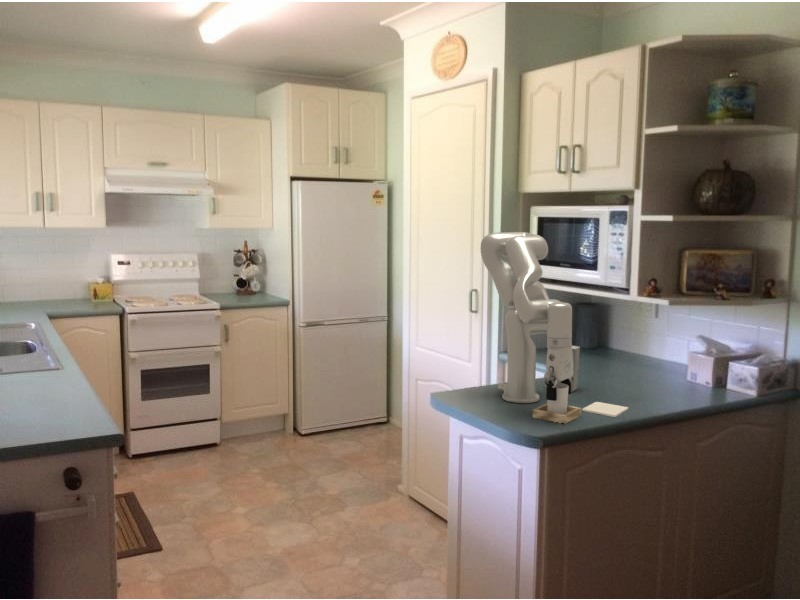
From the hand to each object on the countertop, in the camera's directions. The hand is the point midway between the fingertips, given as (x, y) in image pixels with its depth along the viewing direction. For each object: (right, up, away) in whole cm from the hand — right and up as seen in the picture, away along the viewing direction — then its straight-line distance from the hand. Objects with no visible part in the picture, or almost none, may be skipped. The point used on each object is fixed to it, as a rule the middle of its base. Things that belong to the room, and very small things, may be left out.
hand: (558, 396), depth 223 cm
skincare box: (+10, -2, +34) cm, 36 cm away
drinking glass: (0, -7, +2) cm, 7 cm away
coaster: (+17, -5, +8) cm, 19 cm away
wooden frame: (0, -6, +2) cm, 7 cm away
